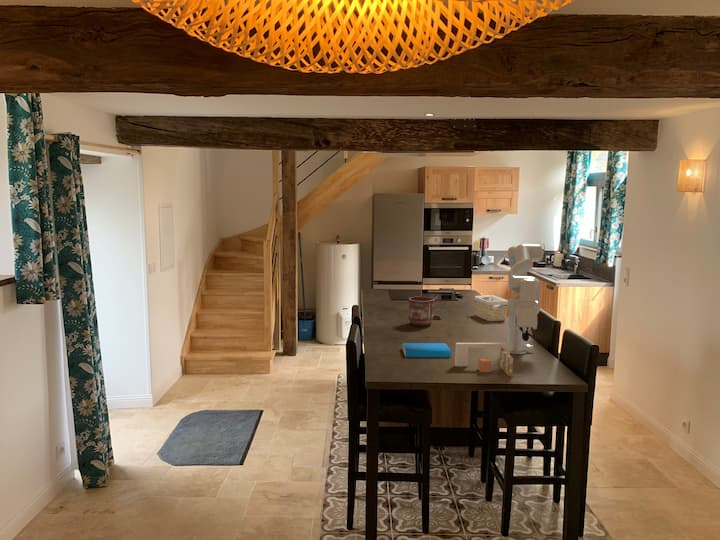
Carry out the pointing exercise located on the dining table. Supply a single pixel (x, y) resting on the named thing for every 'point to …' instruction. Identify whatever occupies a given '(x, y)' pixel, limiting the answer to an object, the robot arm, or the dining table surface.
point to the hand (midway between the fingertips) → (525, 340)
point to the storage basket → (491, 307)
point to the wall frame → (462, 348)
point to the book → (426, 350)
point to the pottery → (421, 311)
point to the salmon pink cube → (484, 364)
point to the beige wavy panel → (506, 362)
